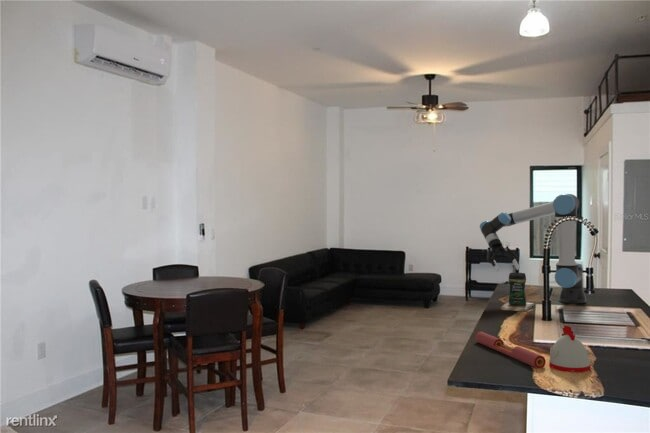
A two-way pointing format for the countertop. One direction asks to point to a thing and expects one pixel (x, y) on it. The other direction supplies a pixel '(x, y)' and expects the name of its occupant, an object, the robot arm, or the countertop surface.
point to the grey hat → (569, 353)
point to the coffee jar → (517, 289)
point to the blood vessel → (511, 350)
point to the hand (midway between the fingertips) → (508, 269)
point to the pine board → (517, 307)
